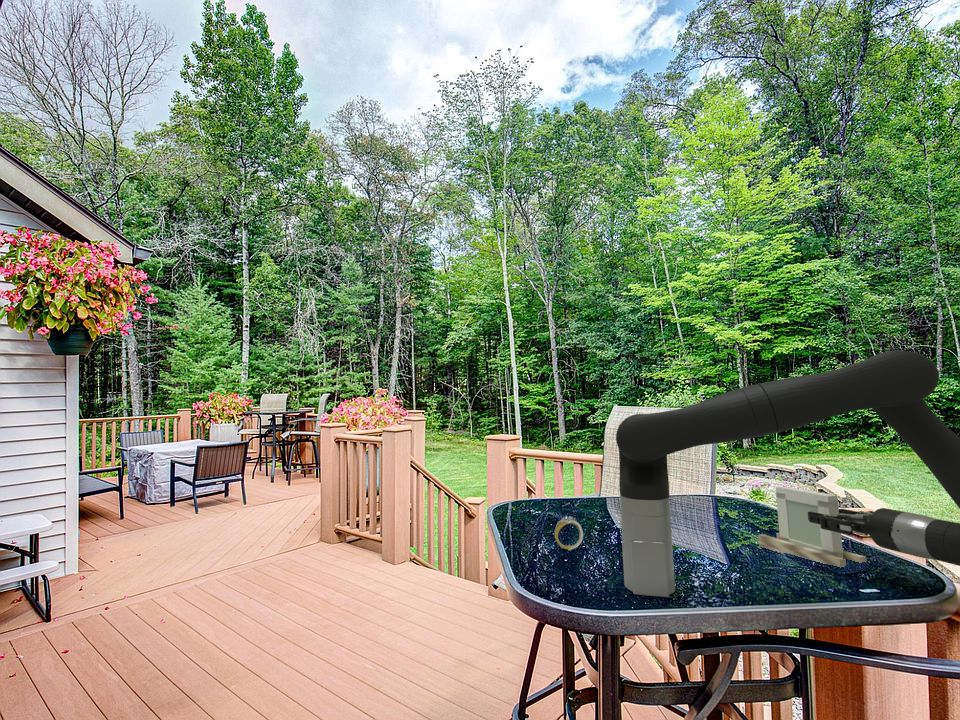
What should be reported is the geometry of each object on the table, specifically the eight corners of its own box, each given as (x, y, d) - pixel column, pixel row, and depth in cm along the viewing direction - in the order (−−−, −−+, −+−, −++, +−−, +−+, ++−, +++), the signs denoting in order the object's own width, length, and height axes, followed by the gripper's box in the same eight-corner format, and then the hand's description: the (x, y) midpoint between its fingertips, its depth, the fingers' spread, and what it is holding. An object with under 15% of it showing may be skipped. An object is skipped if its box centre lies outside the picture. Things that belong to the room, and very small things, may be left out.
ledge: (867, 571, 95) (865, 556, 95) (841, 575, 93) (839, 560, 94) (782, 545, 114) (781, 532, 115) (759, 547, 113) (758, 534, 113)
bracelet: (582, 547, 115) (580, 514, 116) (584, 551, 112) (583, 517, 113) (554, 548, 115) (553, 515, 116) (556, 552, 112) (555, 518, 113)
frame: (843, 563, 98) (837, 495, 99) (834, 564, 97) (827, 496, 99) (789, 546, 110) (784, 486, 112) (780, 547, 110) (775, 486, 111)
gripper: (934, 509, 87) (847, 495, 103) (878, 515, 84) (796, 499, 99) (939, 550, 86) (851, 529, 102) (883, 558, 83) (800, 535, 98)
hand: (824, 514), depth 101 cm, fingers open, 8 cm apart
